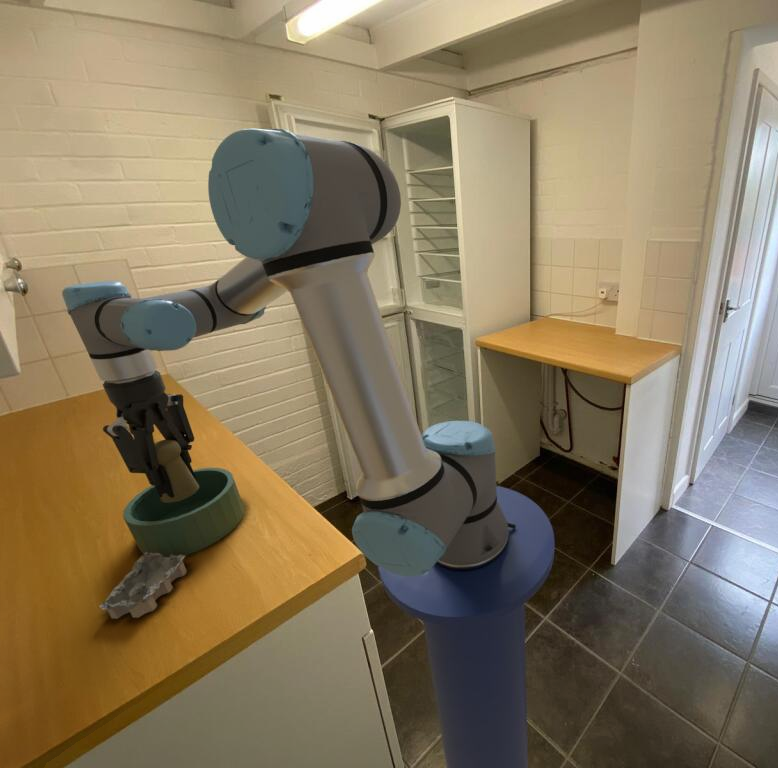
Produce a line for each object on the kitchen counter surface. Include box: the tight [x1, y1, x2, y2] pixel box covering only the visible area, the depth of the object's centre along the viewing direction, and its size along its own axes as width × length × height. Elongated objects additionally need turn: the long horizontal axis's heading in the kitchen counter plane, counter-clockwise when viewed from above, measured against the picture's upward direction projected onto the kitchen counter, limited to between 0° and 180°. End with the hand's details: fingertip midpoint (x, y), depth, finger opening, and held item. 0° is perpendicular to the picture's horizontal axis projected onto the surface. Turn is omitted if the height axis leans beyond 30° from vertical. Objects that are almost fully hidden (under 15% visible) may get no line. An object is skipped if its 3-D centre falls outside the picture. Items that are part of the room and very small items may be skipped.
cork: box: [154, 439, 199, 503], centre depth 78 cm, size 6×6×11 cm
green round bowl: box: [122, 467, 245, 557], centre depth 82 cm, size 17×17×8 cm
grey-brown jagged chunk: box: [97, 551, 188, 620], centre depth 69 cm, size 11×8×4 cm
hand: (178, 487), depth 80 cm, fingers closed on cork, 4 cm apart
